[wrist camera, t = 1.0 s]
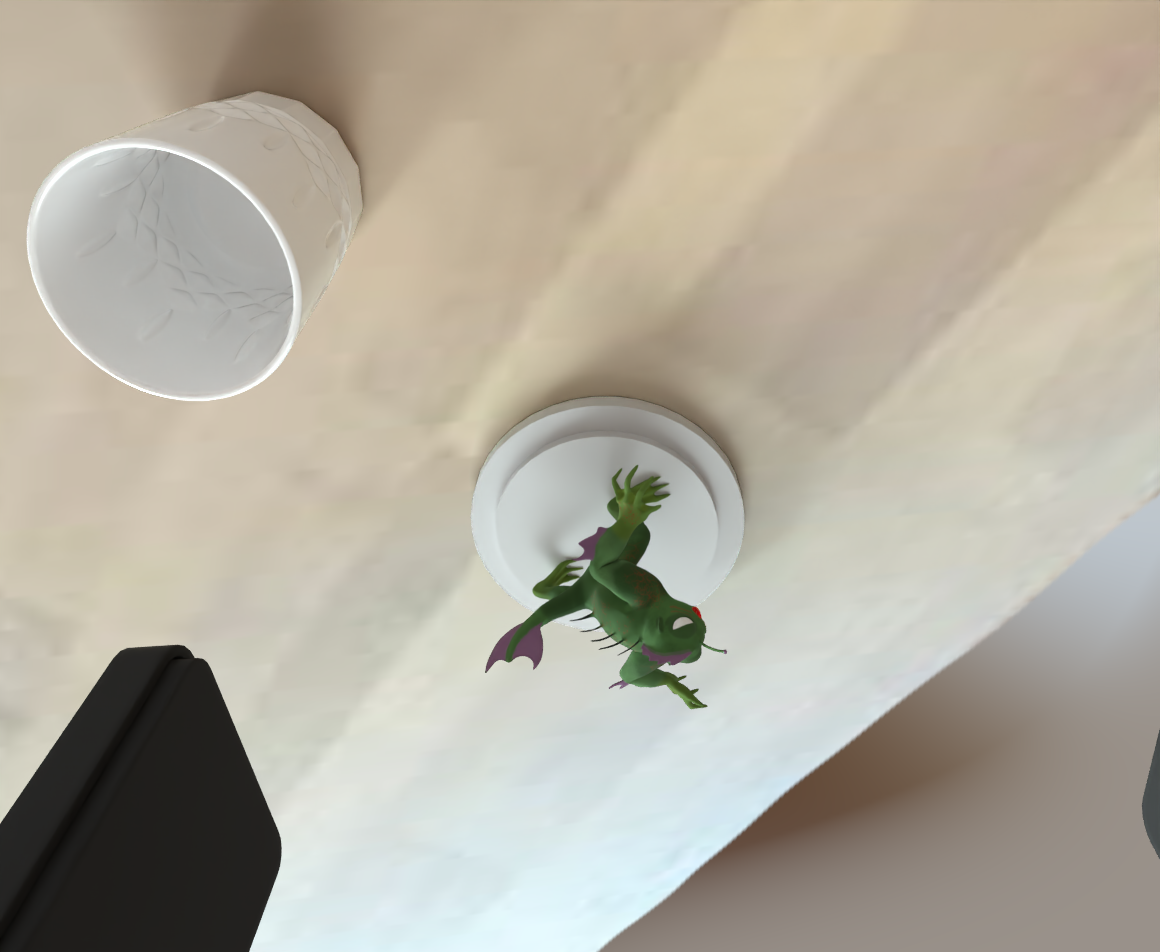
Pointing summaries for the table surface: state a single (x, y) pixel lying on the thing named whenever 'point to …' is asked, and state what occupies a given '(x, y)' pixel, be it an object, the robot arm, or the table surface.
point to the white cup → (196, 242)
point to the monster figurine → (610, 530)
